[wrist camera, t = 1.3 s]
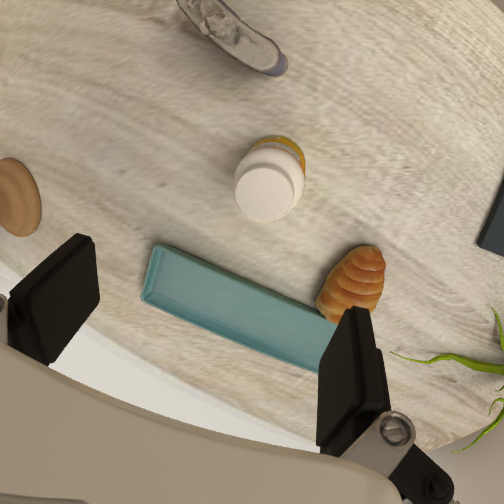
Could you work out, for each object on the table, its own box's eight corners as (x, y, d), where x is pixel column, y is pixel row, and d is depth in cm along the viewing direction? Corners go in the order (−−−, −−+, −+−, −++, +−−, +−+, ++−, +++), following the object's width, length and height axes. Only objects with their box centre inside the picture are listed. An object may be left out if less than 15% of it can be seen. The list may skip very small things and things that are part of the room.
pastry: (341, 232, 32) (344, 251, 29) (398, 250, 32) (406, 270, 29) (312, 301, 37) (312, 323, 34) (364, 314, 37) (367, 336, 34)
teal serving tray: (362, 323, 38) (364, 337, 35) (323, 364, 42) (323, 378, 40) (162, 232, 36) (153, 243, 34) (146, 288, 40) (138, 300, 38)
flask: (294, 64, 25) (286, 53, 16) (270, 85, 26) (250, 85, 17) (223, 0, 22) (180, -34, 13) (200, 21, 24) (148, -2, 14)
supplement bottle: (285, 198, 31) (276, 246, 23) (238, 169, 31) (210, 207, 22) (316, 154, 29) (320, 186, 20) (267, 123, 28) (248, 142, 20)
